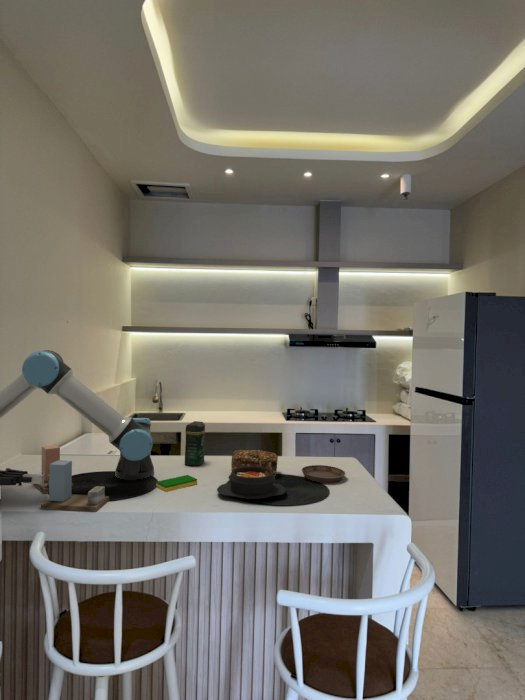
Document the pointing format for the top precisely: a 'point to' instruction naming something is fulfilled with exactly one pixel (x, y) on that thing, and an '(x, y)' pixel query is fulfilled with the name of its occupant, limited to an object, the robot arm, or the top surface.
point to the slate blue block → (60, 480)
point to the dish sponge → (176, 483)
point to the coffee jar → (194, 443)
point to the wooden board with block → (80, 501)
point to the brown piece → (46, 486)
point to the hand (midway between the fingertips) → (42, 479)
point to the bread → (254, 459)
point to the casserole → (251, 483)
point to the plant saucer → (323, 473)
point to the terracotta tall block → (49, 458)
